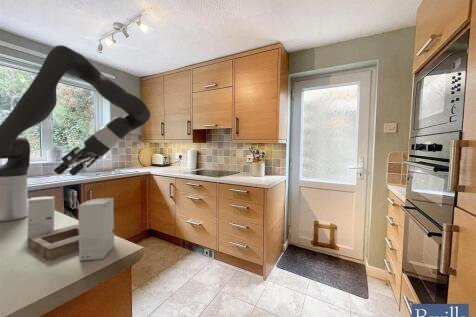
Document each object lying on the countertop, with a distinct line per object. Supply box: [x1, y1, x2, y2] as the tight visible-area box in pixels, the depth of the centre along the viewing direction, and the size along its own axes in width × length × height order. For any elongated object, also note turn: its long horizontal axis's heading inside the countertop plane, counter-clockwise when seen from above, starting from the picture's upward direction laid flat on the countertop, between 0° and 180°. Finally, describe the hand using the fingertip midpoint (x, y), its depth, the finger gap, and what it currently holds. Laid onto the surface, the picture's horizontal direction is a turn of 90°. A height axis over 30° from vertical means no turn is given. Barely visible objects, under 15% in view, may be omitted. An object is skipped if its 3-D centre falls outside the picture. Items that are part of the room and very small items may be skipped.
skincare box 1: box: [27, 195, 56, 238], centre depth 69 cm, size 6×4×12 cm
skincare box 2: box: [77, 197, 115, 262], centre depth 57 cm, size 8×6×15 cm
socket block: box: [27, 224, 79, 261], centre depth 62 cm, size 14×12×3 cm
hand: (64, 173), depth 71 cm, fingers open, 8 cm apart
